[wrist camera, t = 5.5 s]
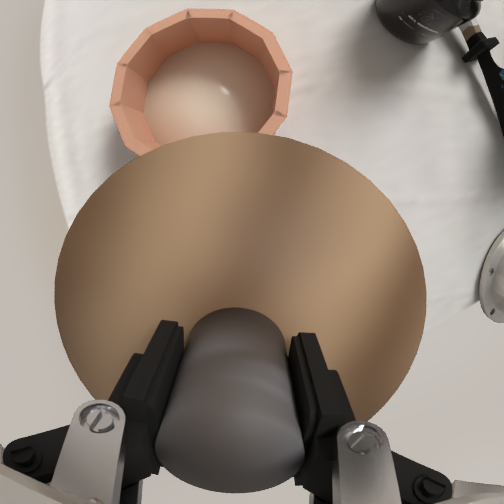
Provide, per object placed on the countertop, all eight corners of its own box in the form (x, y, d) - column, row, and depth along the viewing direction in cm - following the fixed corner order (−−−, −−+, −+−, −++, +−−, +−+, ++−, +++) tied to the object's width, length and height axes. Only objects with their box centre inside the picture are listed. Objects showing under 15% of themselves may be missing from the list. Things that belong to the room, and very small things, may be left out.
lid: (446, 170, 10) (563, 189, 4) (360, 448, 14) (387, 531, 8) (61, 134, 10) (-57, 131, 4) (96, 426, 14) (59, 505, 8)
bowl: (289, 46, 22) (298, 17, 16) (271, 179, 25) (277, 183, 19) (152, 38, 22) (129, 12, 16) (132, 166, 25) (102, 168, 19)
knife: (408, -40, 17) (428, -55, 13) (427, -40, 17) (447, -54, 12) (499, 212, 28) (523, 223, 24) (513, 203, 27) (537, 213, 23)
